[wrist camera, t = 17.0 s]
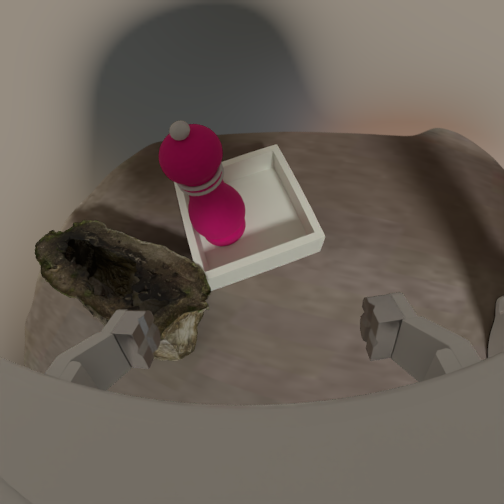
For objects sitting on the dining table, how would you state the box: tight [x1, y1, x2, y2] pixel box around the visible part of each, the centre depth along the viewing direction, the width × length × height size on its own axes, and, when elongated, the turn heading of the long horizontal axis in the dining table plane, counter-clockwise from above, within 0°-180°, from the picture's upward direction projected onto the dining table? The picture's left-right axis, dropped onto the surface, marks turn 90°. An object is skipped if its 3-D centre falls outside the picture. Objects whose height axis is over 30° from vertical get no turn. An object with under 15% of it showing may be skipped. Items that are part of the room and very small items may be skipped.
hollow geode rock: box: [35, 220, 211, 361], centre depth 32 cm, size 28×13×15 cm
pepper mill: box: [159, 120, 246, 246], centre depth 29 cm, size 7×7×20 cm
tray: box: [174, 144, 325, 291], centre depth 37 cm, size 16×16×5 cm
